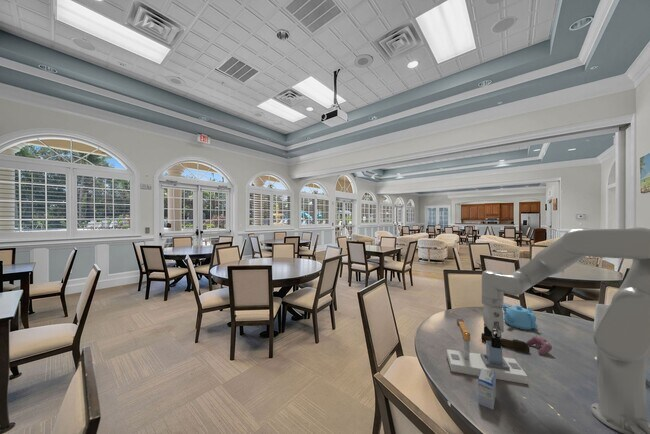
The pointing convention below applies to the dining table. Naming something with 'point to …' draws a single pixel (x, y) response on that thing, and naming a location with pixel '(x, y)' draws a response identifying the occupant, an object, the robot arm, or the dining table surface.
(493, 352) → the blue rectangular block
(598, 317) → the champagne flute
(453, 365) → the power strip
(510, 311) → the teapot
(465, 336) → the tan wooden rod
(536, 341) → the video game controller
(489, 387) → the medicine box
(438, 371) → the dining table surface
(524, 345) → the hand tool
